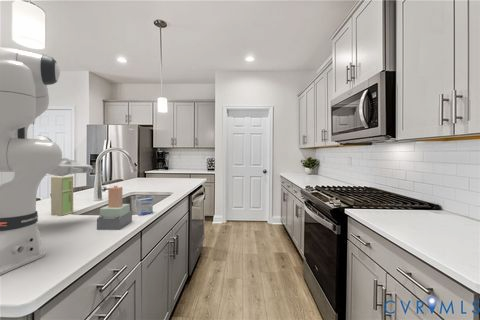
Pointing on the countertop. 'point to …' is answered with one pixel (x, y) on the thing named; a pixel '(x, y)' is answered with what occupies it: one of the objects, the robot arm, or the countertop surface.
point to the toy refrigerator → (61, 195)
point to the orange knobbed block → (115, 196)
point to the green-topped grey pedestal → (114, 217)
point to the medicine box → (144, 206)
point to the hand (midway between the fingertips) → (88, 171)
